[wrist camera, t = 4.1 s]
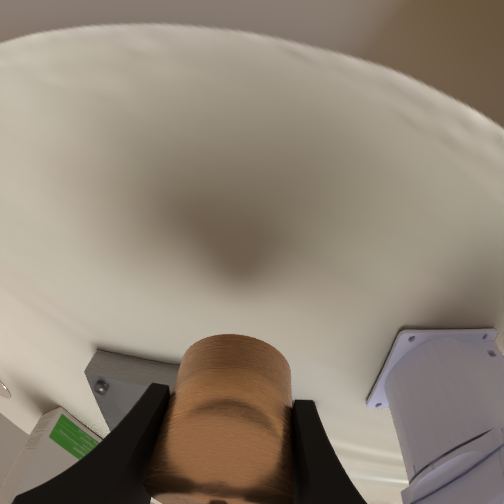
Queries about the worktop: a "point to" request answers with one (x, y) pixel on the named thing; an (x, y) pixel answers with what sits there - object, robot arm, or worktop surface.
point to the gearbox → (124, 382)
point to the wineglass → (4, 391)
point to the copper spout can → (226, 427)
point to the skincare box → (48, 453)
